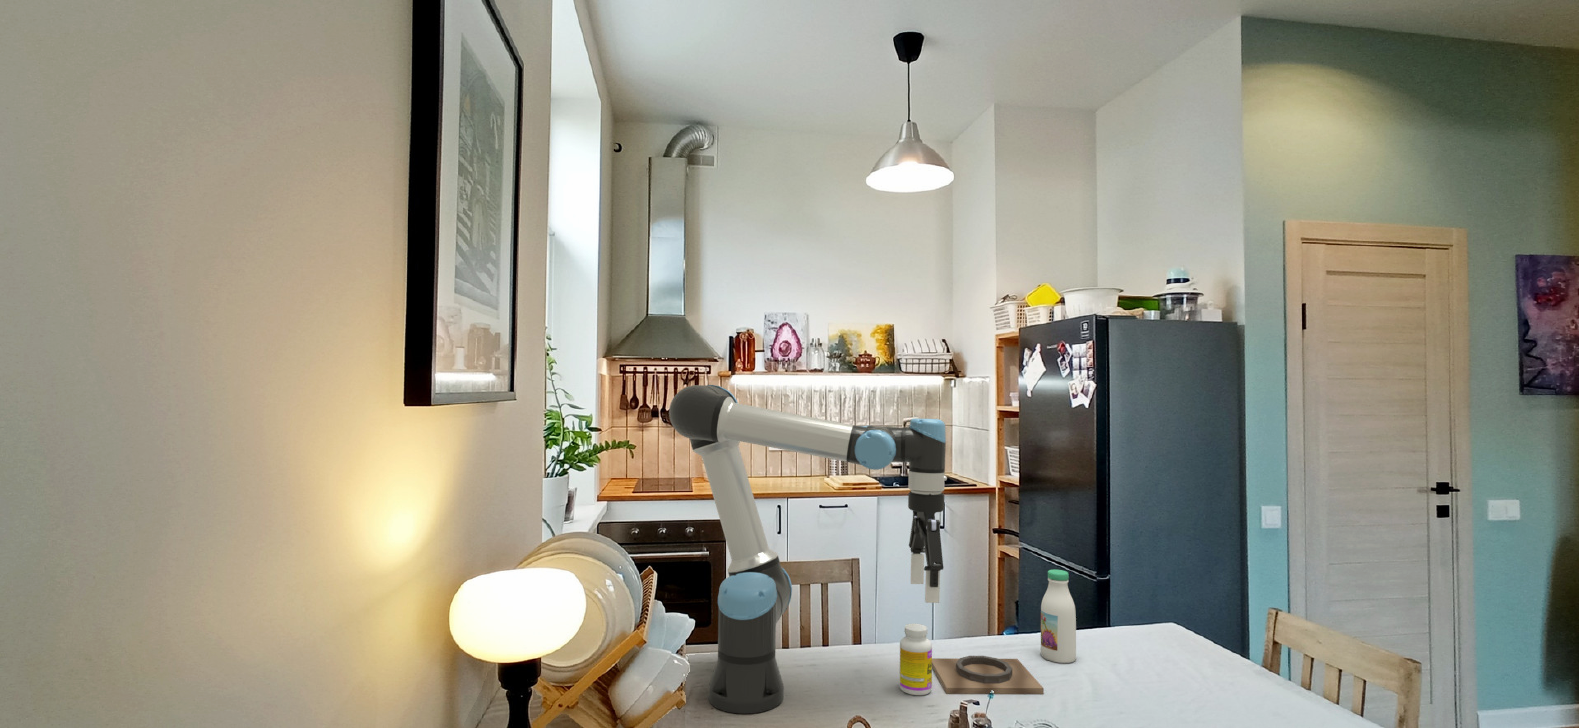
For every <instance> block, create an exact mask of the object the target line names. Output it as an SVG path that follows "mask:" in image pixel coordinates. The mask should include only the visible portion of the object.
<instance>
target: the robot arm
mask: <svg viewBox="0 0 1579 728" xmlns="http://www.w3.org/2000/svg"><path fill="white" fill-rule="evenodd" d="M668 410H669V411H668V415H669V421H670V423H671V425H672V427H673V429H674V430H675V431H676V432H677V433H678V434H679V435H680V436H682V437H684V438H686V439H689V443H690V446H691V449H692V452H694V453H695V454H697V455H698V456H700V457H701V459H702V462H703V466H704V469H705V473H706V475H707V479H708V483H709V486H710V491H711V493H712V496H713V500H714V504H715V508H716V511H717V515H718V516H719V521H720V524H721V528H722V531H723V534H724V535H723V536H724V538H725V542H726V545H727V549H728V551H729V556H730V558H731V561H730V564H729V566H728V568H727V572H728V573H727V574H728V577H726V578H725V579H724V580H722V582H721V583H720V586H719V588H718V590H719V591H718V596H717V606H718V609H717V610H718V611H717V612H718V613H717V614H718V615H717V616H718V617H717V619H718V620H717V622H718V623H717V658H716V663H715V666H714V669H713V671H712V672H713V673H712V674H711V678H710V680H709V681H710V682H709V684H708V697H707V698H708V702H709V703H710V704H711V706H712V707H715V708H716V709H719V710H720V711H724V712H727V713H728V712H729V713H733V714H757V713H763V712H767V711H769V710H772V709H774V708H776V707H778V706H780V705H781V704H782V702H783V700H784V697H785V696H784V695H785V693H784V691H785V686H784V682H783V678H782V675H781V672H780V669H779V666H778V662H777V659H776V657H777V656H776V645H777V643H776V641H777V635H776V632H777V623H778V621H779V620H780V619H781V617H782V616H783V614H785V612H786V611H787V609H788V607H789V605H790V602H791V600H792V593H793V585H792V584H793V583H792V580H791V577H790V576H789V573H788V572H787V571H786V569H784V567H782V565H781V562H780V558H779V554H778V553H777V552H775V551H774V550H772V549H770V547H769V545H768V541H767V539H766V538H767V537H766V534H765V531H764V528H763V525H762V521H761V517H760V513H759V511H758V510H759V509H758V507H757V504H756V501H755V497H754V494H753V490H752V487H751V483H750V480H749V477H748V474H747V470H746V466H745V462H744V460H743V456H742V453H741V450H740V447H739V445H740V443H741V442H742V443H747V444H752V445H758V446H763V447H768V448H774V449H779V450H783V451H789V452H794V453H800V454H804V455H809V456H815V457H819V458H824V459H825V458H826V459H831V460H836V461H841V462H846V463H850V464H855V465H858V466H859V465H860V466H862V467H864V468H866V469H869V470H875V471H877V470H882V469H884V468H886V467H887V466H889V465H890V464H891V463H908V489H909V490H910V491H909V492H908V495H907V496H908V498H907V499H908V502H907V507H908V509H909V510H911V511H912V522H911V528H910V535H909V543H908V547H909V548H910V554H911V555H910V562H911V563H910V584H911V585H924V582H925V591H924V593H925V594H924V602H925V603H927V604H929V603H930V604H939V603H940V591H941V587H940V584H941V582H940V581H941V579H940V578H941V570H942V571H943V570H944V567H945V566H944V559H943V558H944V557H943V550H942V548H943V547H942V541H941V540H942V539H941V521H940V519H936V513H942V512H943V511H944V510H945V493H943V492H944V491H945V481H947V479H948V477H947V475H945V474H946V473H945V472H946V451H947V450H946V447H947V446H946V445H947V441H946V439H947V438H946V436H947V435H946V424H945V422H944V421H943V420H941V419H937V418H912V419H910V422H909V426H905V427H897V426H896V427H895V426H881V425H879V426H877V425H854V424H849V423H844V422H839V421H833V420H828V419H822V418H818V417H812V416H806V415H802V414H796V413H791V412H790V413H789V412H786V411H779V410H776V409H770V408H764V407H759V406H754V405H749V404H744V403H739V402H738V400H737V398H736V396H734V394H733V393H732V392H731V391H729V390H728V389H726V388H724V387H722V386H720V385H716V384H707V385H706V384H705V385H700V384H696V385H695V384H694V385H689V386H686V387H684V388H682V389H680V390H679V391H678V392H677V393H676V394H675V395H674V397H673V398H672V400H671V402H670V405H669V409H668ZM925 561H926V565H925V564H924V563H925ZM924 573H925V575H924ZM924 577H925V579H924ZM924 580H925V581H924Z"/></svg>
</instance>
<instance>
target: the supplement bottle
mask: <svg viewBox="0 0 1579 728" xmlns="http://www.w3.org/2000/svg"><path fill="white" fill-rule="evenodd" d="M903 632H904V634H905V636H904V637H902V638H901V640H900V641H899V688H900V690H901V691H902V692H904V693H906V694H908V695H913V696H925V695H928V694H929V693H931V692H932V688H933V668H932V658H933V644H932V641H931V640H930V639H928V638H927V635H928V627H927V626H925V625H923V624H920V623H908V624H906V625H904V631H903Z"/></svg>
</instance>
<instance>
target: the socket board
mask: <svg viewBox="0 0 1579 728" xmlns="http://www.w3.org/2000/svg"><path fill="white" fill-rule="evenodd" d="M932 671H933V672H934V674H935V675H936V677H937V678H938V681H939V683H940V684H941V686H942V688H943V690H944V692H945V693H946V694H947V695H958V694H959V695H962V694H963V695H990V694H989V693H990V692H991V690H993V691H994V694H993V695H1044V693H1045V692H1044V687H1043V686H1042V685H1041V683H1039V682H1038V680H1037V679H1036V678H1035V677H1034V676H1033V674H1031V672H1030V671H1029V670H1028V669H1027V668H1026V667H1025V665H1024V664H1023V663H1022V662H1021V661H1020V660H1019V659H1018V658H997V657H992V656H986V655H968V656H967V655H966V656H963V657H960V658H946V657H945V658H940V657H939V658H933V657H932Z"/></svg>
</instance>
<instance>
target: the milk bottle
mask: <svg viewBox="0 0 1579 728" xmlns="http://www.w3.org/2000/svg"><path fill="white" fill-rule="evenodd" d="M1069 578H1070V576H1069V571H1066V570H1061V569H1049V570H1048V571H1047V581H1048V585H1047V589H1046V591H1045V593H1044V595H1043V597H1042V600H1041V605H1040V654H1041V657H1042V658H1043V659H1045V660H1047V661H1050V662H1054V663H1059V664H1071V663H1073V662H1075V661H1076V659H1077V621H1076V620H1077V618H1076V617H1077V616H1076V613H1077V612H1076V604H1075V602H1074V599H1073V597H1072V594H1071V593H1070V590H1069V586H1068V585H1069V584H1068V583H1069Z"/></svg>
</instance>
